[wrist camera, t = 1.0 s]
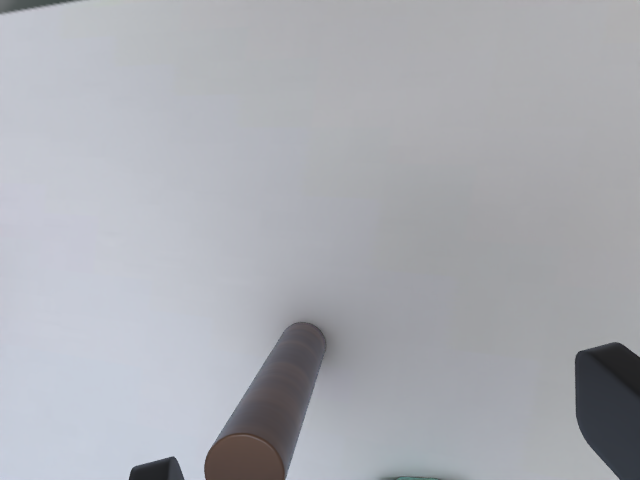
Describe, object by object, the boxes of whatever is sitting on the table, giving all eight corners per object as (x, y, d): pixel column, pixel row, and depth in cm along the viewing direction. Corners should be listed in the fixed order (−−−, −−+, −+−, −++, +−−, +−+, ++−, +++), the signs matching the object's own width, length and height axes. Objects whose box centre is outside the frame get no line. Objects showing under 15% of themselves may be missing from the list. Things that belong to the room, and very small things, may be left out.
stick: (285, 317, 36) (212, 424, 20) (330, 328, 35) (292, 445, 20) (275, 360, 36) (196, 500, 20) (320, 372, 36) (275, 522, 20)
